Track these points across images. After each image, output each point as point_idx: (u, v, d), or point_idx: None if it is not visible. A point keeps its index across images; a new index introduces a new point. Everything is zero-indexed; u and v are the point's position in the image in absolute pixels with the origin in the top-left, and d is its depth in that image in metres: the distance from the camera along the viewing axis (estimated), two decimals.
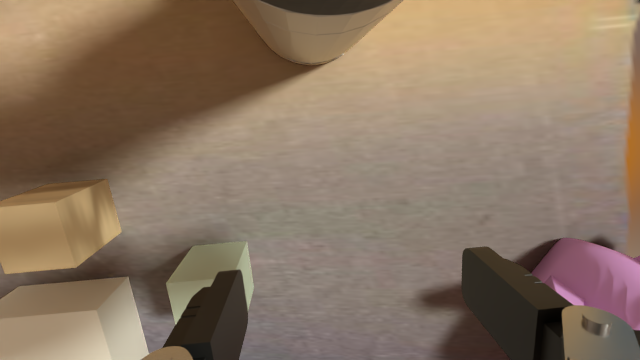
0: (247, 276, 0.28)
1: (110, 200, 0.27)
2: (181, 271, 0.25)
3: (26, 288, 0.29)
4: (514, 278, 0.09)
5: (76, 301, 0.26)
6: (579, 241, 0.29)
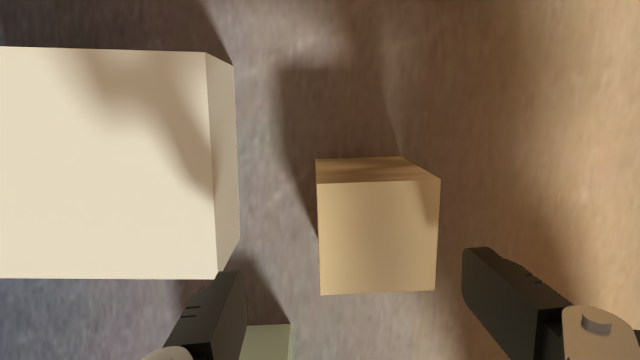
0: None
1: None
2: None
3: (231, 86, 0.17)
4: (514, 278, 0.09)
5: (223, 218, 0.16)
6: None
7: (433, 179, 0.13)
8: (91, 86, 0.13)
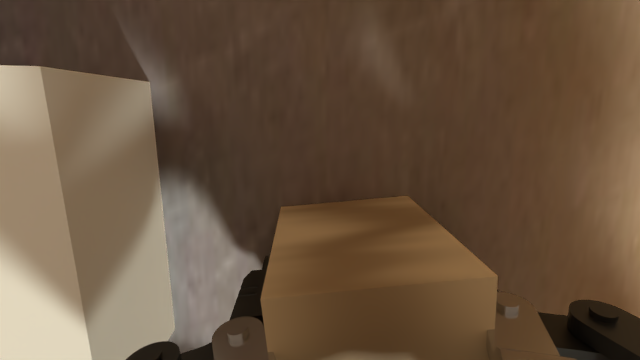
0: None
1: None
2: None
3: (145, 114, 0.11)
4: None
5: (123, 332, 0.10)
6: None
7: (483, 276, 0.07)
8: None
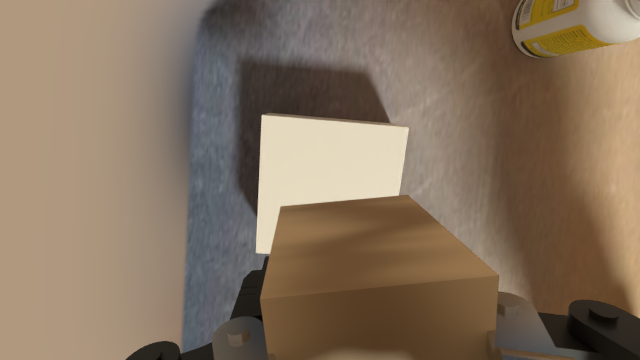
0: None
1: None
2: None
3: None
4: None
5: None
6: None
7: (483, 275, 0.07)
8: (340, 143, 0.22)
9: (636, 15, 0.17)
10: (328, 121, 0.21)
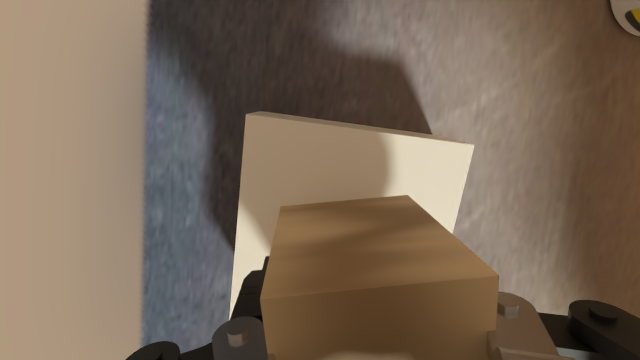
0: None
1: None
2: None
3: None
4: None
5: None
6: None
7: (484, 275, 0.07)
8: (367, 163, 0.14)
9: None
10: (350, 129, 0.14)
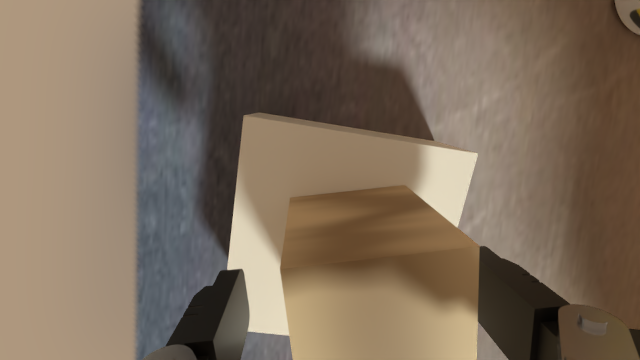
0: None
1: None
2: None
3: None
4: (511, 278, 0.09)
5: None
6: None
7: (467, 246, 0.08)
8: (367, 170, 0.14)
9: None
10: (351, 134, 0.13)
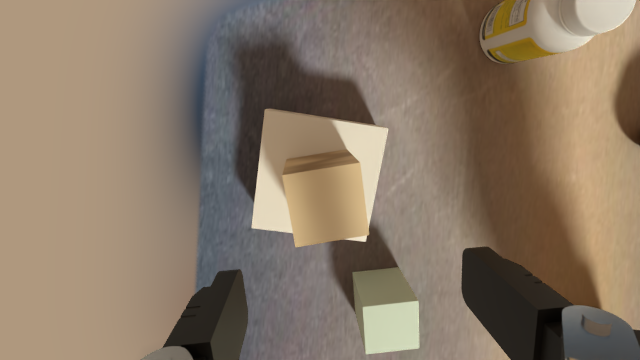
0: None
1: None
2: None
3: None
4: (514, 278, 0.09)
5: None
6: None
7: (355, 163, 0.20)
8: (329, 137, 0.26)
9: (569, 31, 0.21)
10: (320, 118, 0.25)
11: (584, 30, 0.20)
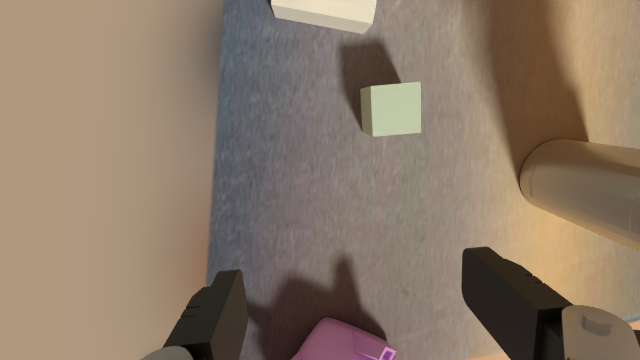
0: None
1: None
2: None
3: None
4: (514, 278, 0.09)
5: None
6: None
7: None
8: None
9: None
10: None
11: None
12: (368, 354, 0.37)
